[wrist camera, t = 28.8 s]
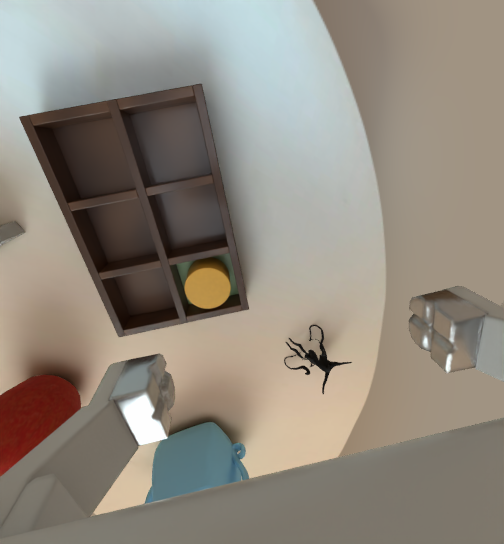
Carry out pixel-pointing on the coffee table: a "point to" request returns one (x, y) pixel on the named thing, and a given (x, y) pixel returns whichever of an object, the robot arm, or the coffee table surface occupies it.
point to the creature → (312, 357)
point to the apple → (33, 415)
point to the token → (207, 283)
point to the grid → (141, 201)
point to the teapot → (195, 462)
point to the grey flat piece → (9, 232)
